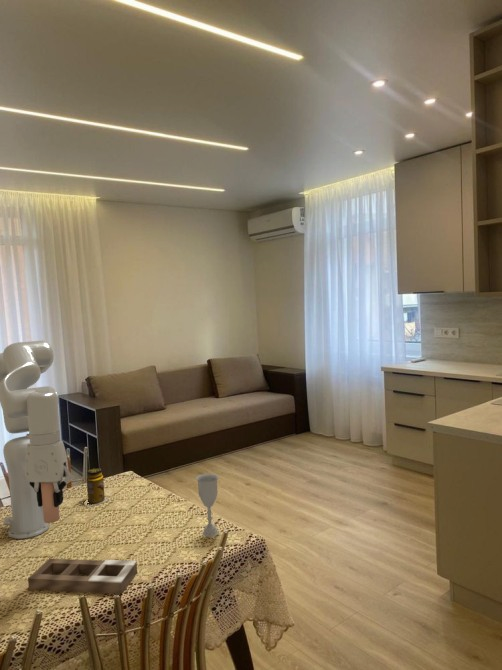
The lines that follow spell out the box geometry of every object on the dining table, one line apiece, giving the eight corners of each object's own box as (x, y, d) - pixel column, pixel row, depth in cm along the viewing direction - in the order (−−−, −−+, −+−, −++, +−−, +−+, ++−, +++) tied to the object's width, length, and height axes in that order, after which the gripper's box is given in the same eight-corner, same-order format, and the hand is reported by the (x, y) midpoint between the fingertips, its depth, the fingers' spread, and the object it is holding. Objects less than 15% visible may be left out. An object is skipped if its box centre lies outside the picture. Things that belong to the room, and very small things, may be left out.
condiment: (109, 500, 187) (106, 469, 186) (88, 507, 181) (85, 475, 180) (100, 495, 192) (97, 465, 191) (79, 502, 186) (76, 471, 186)
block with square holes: (28, 589, 130) (27, 577, 130) (50, 568, 140) (49, 557, 140) (122, 594, 126) (121, 581, 125) (137, 572, 136) (136, 560, 135)
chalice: (194, 533, 156) (191, 478, 155) (210, 525, 161) (207, 472, 160) (210, 540, 151) (206, 483, 150) (226, 532, 156) (223, 476, 155)
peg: (40, 522, 131) (37, 479, 130) (49, 516, 135) (45, 473, 134) (54, 523, 131) (51, 479, 130) (62, 516, 135) (59, 473, 134)
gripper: (7, 442, 129) (13, 510, 130) (66, 442, 126) (72, 511, 128) (25, 434, 136) (30, 498, 138) (81, 434, 134) (86, 499, 135)
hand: (50, 504), depth 133 cm, fingers closed on peg, 4 cm apart
